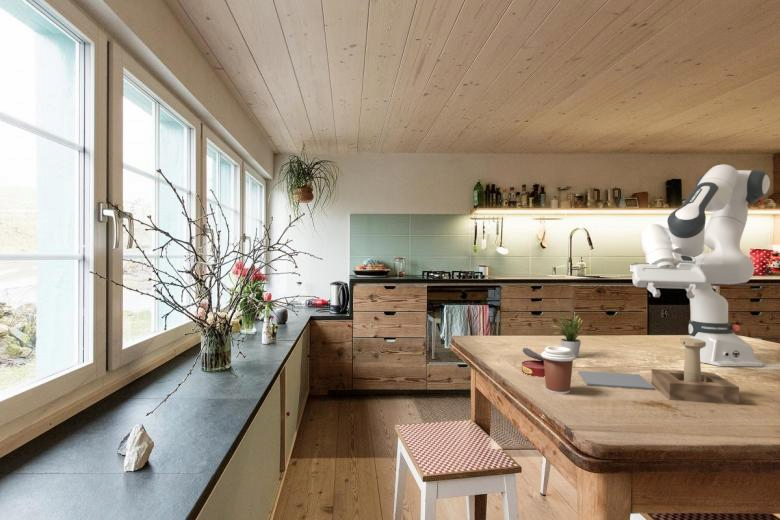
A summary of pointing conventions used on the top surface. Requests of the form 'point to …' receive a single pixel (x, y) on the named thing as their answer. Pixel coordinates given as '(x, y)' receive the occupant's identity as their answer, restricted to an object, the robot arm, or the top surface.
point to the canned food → (533, 364)
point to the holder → (695, 387)
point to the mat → (615, 380)
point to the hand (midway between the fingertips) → (674, 296)
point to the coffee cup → (558, 368)
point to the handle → (692, 358)
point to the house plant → (570, 334)
